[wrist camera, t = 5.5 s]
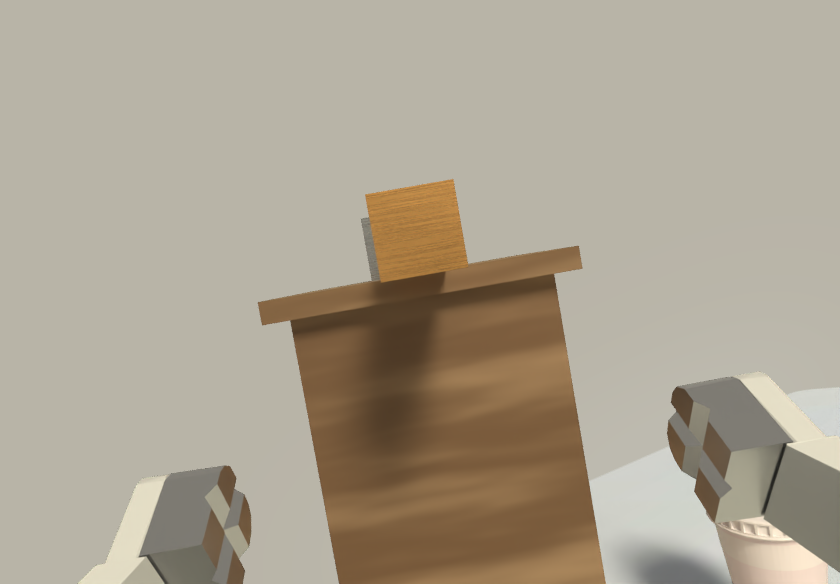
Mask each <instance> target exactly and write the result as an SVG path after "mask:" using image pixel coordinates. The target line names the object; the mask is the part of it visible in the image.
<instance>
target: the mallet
mask: <svg viewBox="0 0 840 584" xmlns="http://www.w3.org/2000/svg"><path fill="white" fill-rule="evenodd" d="M365 196H366V202H367V208H368V213H369V217H368V218H363V219H361V222H362V228H363V233H364V239H365V245H366V250H367V255H368V261H369V266H370V272H371V278H372V281H377V280H381V283H382V282H388V281H394V280H399V279H405V278H410V277H416V276H422V275H427V274H433V273H439V272H444V271H450V270H456V269H461V268H467V267H468V262H467V256H466V250H465V244H464V238H463V233H462V227H461V221H460V215H459V210H458V204H457V198H456V192H455V186H454V181H453V179H452V180H446V181H440V182H435V183H429V184H423V185H417V186H412V187H406V188H400V189H395V190H388V191H383V192H377V193H372V194H366V195H365Z"/></svg>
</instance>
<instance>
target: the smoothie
mask: <svg viewBox="0 0 840 584" xmlns="http://www.w3.org/2000/svg"><path fill="white" fill-rule="evenodd" d="M706 514H707V515H708V517H709V519H710V520H711V521H712V522H713V520H712V519H711V517H710V516H709V514H708V512H707V511H706ZM763 518H764V516H762V517H755V518H749V519H742V520H735V521H728V522H722V523H715V525H716V529H717V532H718V536H719V539H720V543H721V546H722V549H723V552H724V556H725V559H726V563H727V566H728V569H729V573H730V576H731V579H732V583H733V584H828V564H827V563H825V562H824V561H822V560H821V559H820V558H818V557H817V556H815V555H814V554H813V553H811V552H810V551H808V550H807V549H805V548H804V547H803V546H801V545H800V544H798V543H797V542H795V541H794V540H793V539H791V538H790V537H788V536H787V535H786V534H784V533H783V532H781V531H780V530H778V529H777V528H776V527H774V526H773V525H771V524H770V523H768V522H767V521H766V520H764V519H763ZM713 523H714V522H713Z"/></svg>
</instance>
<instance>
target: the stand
mask: <svg viewBox="0 0 840 584" xmlns="http://www.w3.org/2000/svg"><path fill="white" fill-rule="evenodd" d="M576 269H582V263H581V257H580V251H579V246H574V247H567V248H561V249H554V250H549V251H542V252H535V253H529V254H522V255H516V256H511V257H505V258H499V259H493V260H488V261H482V262H476V263H471V264H468V267H467V268H461V269H456V270H450V271H444V272H439V273H433V274H427V275H422V276H416V277H410V278H405V279H399V280H394V281H388V282H382V283H381V280H377V281H369V282H363V283H357V284H352V285H347V286H340V287H335V288H329V289H323V290H318V291H312V292H307V293H302V294H297V295H292V296H287V297H282V298H277V299H272V300H268V301H262V302H258V306H259V311H260V317H261V322H262V325H266V324H272V323H278V322H283V321H289V320H290V321H291V327H292V332H293V338H294V342H295V348H296V354H297V359H298V364H299V370H300V375H301V381H302V386H303V391H304V397H305V402H306V407H307V413H308V418H309V424H310V429H311V435H312V440H313V445H314V451H315V456H316V461H317V467H318V472H319V478H320V483H321V488H322V494H323V499H324V505H325V510H326V515H327V520H328V526H329V531H330V537H331V542H332V547H333V553H334V558H335V564H336V569H337V574H338V580H339V584H606V582H605V576H604V570H603V564H602V558H601V552H600V546H599V540H598V534H597V528H596V522H595V516H594V510H593V504H592V498H591V492H590V486H589V480H588V475H587V469H586V463H585V456H584V451H583V445H582V439H581V433H580V427H579V421H578V415H577V409H576V403H575V397H574V391H573V385H572V379H571V373H570V367H569V361H568V355H567V349H566V343H565V337H564V332H563V325H562V319H561V313H560V307H559V301H558V295H557V289H556V283H555V277H554V274H555V273H560V272H566V271H571V270H576Z"/></svg>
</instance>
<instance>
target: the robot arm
mask: <svg viewBox="0 0 840 584" xmlns="http://www.w3.org/2000/svg"><path fill="white" fill-rule="evenodd" d="M671 403H672V405H673V406H674V408H675V409H676V413H675V414H674V415H673V416H672V417H671V418H670V419H669V421H668V431H667V435H668V440H669V445H670V449H671V452H672V454H673V456H674V459H675V461H676V462H677V464H678V466H679V467H680V469H681V471H683V472H684V473H686V474H688V475H689V476H691V477H693V478H695V479H696V485H695V491H694V492H695V493H696V495H697V497H698V498H699V500H700V501H701V503H702V504H703V506H704V508H705V509H706V511H707V512H708V514H709V516H710V517H711V519H712V520H713V522H714V524H715V523H722V522H728V521H735V520H742V519H749V518H755V517H762V516H764V518H763V519H764V520H766V521H767V522H768V523H770V524H771V525H773V526H774V527H776V528H777V529H778V530H780V531H781V532H783V533H784V534H786V535H787V536H788V537H790V538H791V539H793V540H794V541H795V542H797V543H798V544H800V545H801V546H803V547H804V548H805V549H807V550H808V551H810V552H811V553H813V554H814V555H815V556H817V557H818V558H820V559H821V560H822V561H824V562H825V563H827V564H828V565H830V566H831V567H832V568H834V569H835V570H837V571H838V572H840V437H837V436H829V437H826V436H825V435H824V434H823V432H822V431H821V430H820V429H819V428H818V427H817V426H816V425H815V424H814V423H813V422H812V421H811V420H810V419H809V418H808V417H807V416H806V415H805V414H804V413H803V412H802V411H801V410H800V409H799V408H798V407H797V406H796V405H795V404H794V402H793V401H792V400H791V399H790V398H789V397H788V396H787V395H786V394H785V393H784V392H783V391H782V390H781V389H780V388H779V387H778V386H777V385H776V384H775V383H774V382H773V381H772V380H771V379H770V378H769V377H768V376H767V375H766V374H764V373H762V372H754V373H748V374H743V375H737V376H732V377H725V378H720V379H714V380H709V381H704V382H699V383H693V384H687V385H682V386H677V387H676V388H675V390H674V391H673V393H672V400H671ZM235 483H236V476H235V475H234V473H233V471H232V469H231V467H230V466H219V467H213V468H205V469H198V470H192V471H185V472H178V473H171V474H168V475H162V476H154V477H148V478H143V479H142V480H141V481H140V482H139V483H138V484H137V485H136V487H135V489H134V492H133V494H132V497H131V499H130V502H129V504H128V507H127V509H126V512H125V514H124V517H123V519H122V521H121V524H120V526H119V529H118V531H117V534H116V537H115V539H114V541H113V544H112V546H111V549H110V551H109V554H108V556H107V559H106V561H105V563H104V564H100V565H96V566H95V567H94V568H93V569H92V570H91V571H90V572H89V573H88V574H86V576H85V577H83V579H82V580H80V581H79V582H78V583H77V584H243V579H244V573H245V570H244V568H243V566H242V564H241V562H240V560H239V559H240V557H241V556H242V555H243V554H244V552H245V551H246V550H247V549H248V547H249V544H250V537H251V514H250V509H249V505H248V502H247V500H246V498H245V495H244V494H243V493H241V492H239V491H237V490H235V489H234V487H235Z"/></svg>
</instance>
